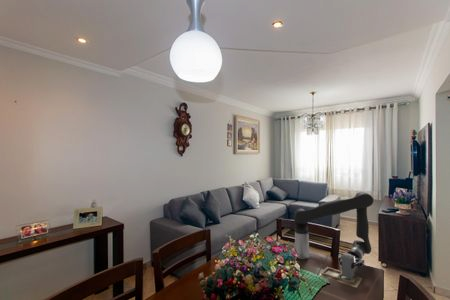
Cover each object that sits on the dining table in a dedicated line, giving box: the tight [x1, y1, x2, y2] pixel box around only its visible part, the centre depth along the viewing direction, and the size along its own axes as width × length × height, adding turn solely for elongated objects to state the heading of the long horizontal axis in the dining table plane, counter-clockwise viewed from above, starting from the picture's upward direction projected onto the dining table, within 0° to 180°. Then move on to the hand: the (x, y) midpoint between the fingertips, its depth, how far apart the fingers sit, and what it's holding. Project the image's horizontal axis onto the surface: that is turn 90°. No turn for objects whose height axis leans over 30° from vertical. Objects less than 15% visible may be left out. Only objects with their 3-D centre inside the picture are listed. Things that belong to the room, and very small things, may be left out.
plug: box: [341, 252, 355, 279], centre depth 132 cm, size 5×5×12 cm
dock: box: [318, 266, 363, 288], centre depth 135 cm, size 20×12×2 cm, turn 47°
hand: (346, 265), depth 130 cm, fingers closed on plug, 5 cm apart
